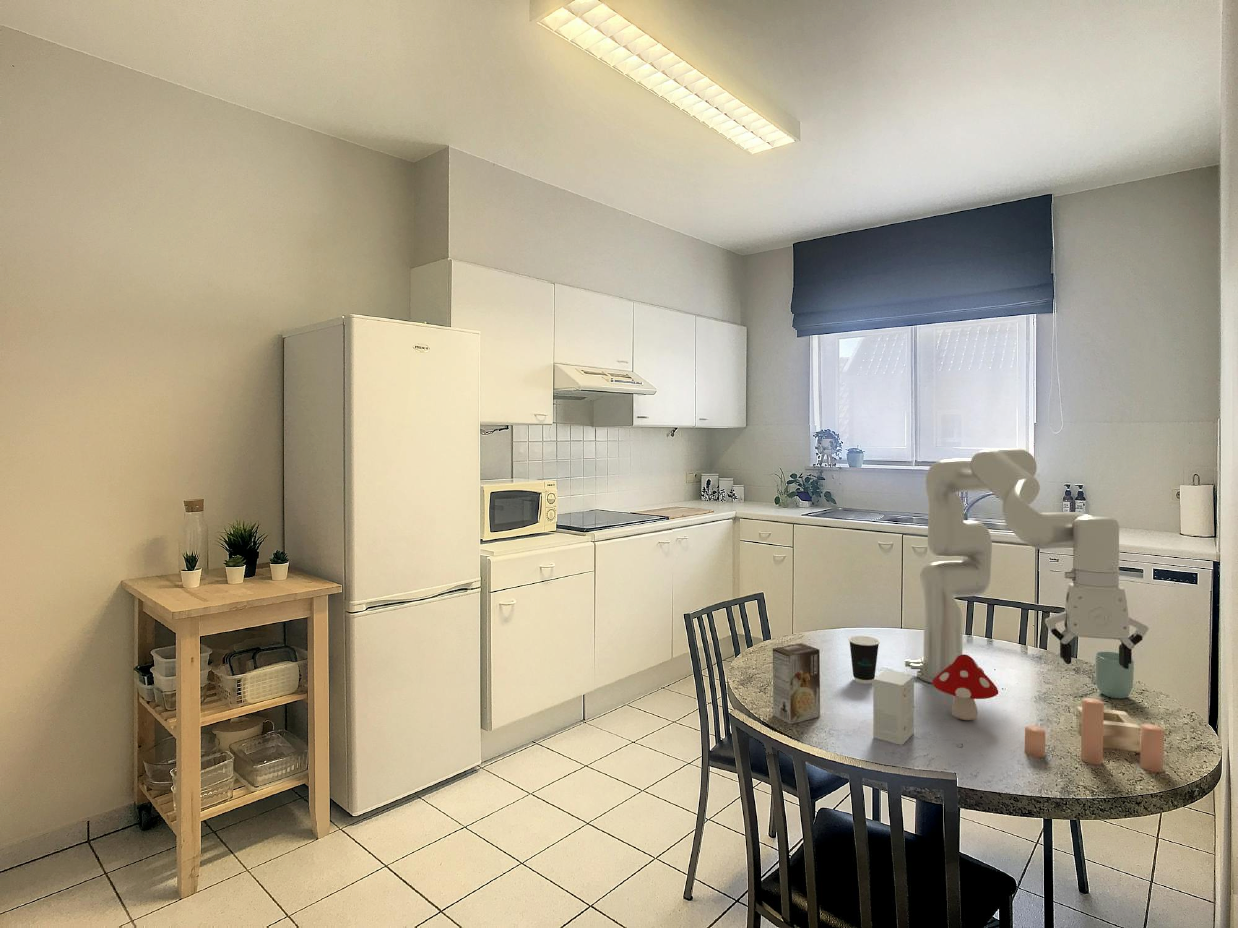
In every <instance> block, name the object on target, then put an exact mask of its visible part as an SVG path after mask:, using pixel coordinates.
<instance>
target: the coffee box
mask: <svg viewBox="0 0 1238 928" xmlns="http://www.w3.org/2000/svg"><path fill="white" fill-rule="evenodd" d="M820 654H821V653H820V649H819V648H817V647H813V646H811V645H808V644H805V643H802V642H799V643H795V644H790V645H785V646H779V647H774V648H772V694H773V695H772V715H773V716H774V717H776V718H778V719H780V720H781V721H784V722H785V723H788V724H789V725H793V724H794V725H795V724H797V723H802V722H805V721H808V720H812V719H817V718H820V717H821V698H820V697H821V689H820V688H821V675H820V674H821V673H820V672H821V670H820V668H821V667H820V665H821V663H820V662H821V661H820V660H821V659H820V657H821V656H820Z"/></svg>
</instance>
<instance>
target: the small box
mask: <svg viewBox="0 0 1238 928" xmlns="http://www.w3.org/2000/svg"><path fill="white" fill-rule="evenodd" d="M872 685H873V686H872V687H873V688H872V690H873V695H872V699H873V705H872V706H873V707H872V708H873V713H872V714H873V715H872V716H873V717H872V718H873V719H872V720H873V729H872V730H873V732H872V733H873V734H872V736H873V738H874V739H877V740H881V741H885V742H889V743H891V744H896V745H900V746H903V745H904V744H905V743H906V742H907V741H908V740H909V739H910V738H911V737H912V735H913V734H914V733H915V730H914V729H915V716H914V715H915V707H914V706H915V675H913V674H909V673H905V672H901V671H896V670H889V669H885V670H884V671H882V672H880V674H878V675H877V676H875V678H874V679H873V683H872Z"/></svg>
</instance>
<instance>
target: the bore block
mask: <svg viewBox="0 0 1238 928" xmlns="http://www.w3.org/2000/svg"><path fill="white" fill-rule="evenodd" d="M1075 721H1076V726H1075V729H1076V730H1077V731H1078V733H1079V735H1081V726H1082V706H1076V720H1075ZM1103 749H1112V750H1113V749H1114V750H1122V751H1129V752H1138V753H1140V749H1141V727H1140V725H1138V724H1137V723H1136V722H1135V720H1133V719H1132V718H1131V717H1130V715H1129V714H1128V713H1127V712H1126V711H1122V710H1114V709H1113V710H1112V709H1105V708H1104V719H1103Z"/></svg>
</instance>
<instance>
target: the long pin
mask: <svg viewBox="0 0 1238 928" xmlns="http://www.w3.org/2000/svg"><path fill="white" fill-rule="evenodd" d="M1081 707H1082V726H1081V734H1080V735H1081V736H1080V737H1081V738H1080V741H1081V744H1080V759H1081V760H1082V762H1084V763H1086V764H1090V765H1097V766H1099V765H1102V764H1103V763H1104V761H1103V759H1104V747H1103V719H1104V709H1105V708H1104V707H1105V703H1104V702H1103V701H1101V700H1099V699H1096V698H1092V697H1091V698H1089V697H1087V698H1086V697H1085V698H1082V699H1081Z"/></svg>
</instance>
